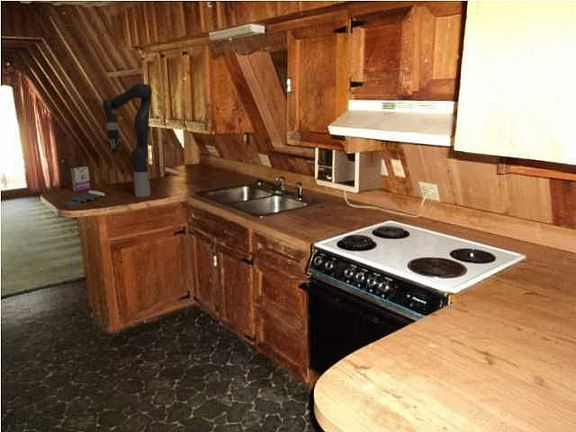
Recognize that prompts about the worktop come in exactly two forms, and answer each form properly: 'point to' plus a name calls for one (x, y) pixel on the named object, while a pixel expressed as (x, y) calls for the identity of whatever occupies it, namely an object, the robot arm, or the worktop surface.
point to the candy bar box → (80, 179)
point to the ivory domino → (97, 193)
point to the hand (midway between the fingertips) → (114, 153)
